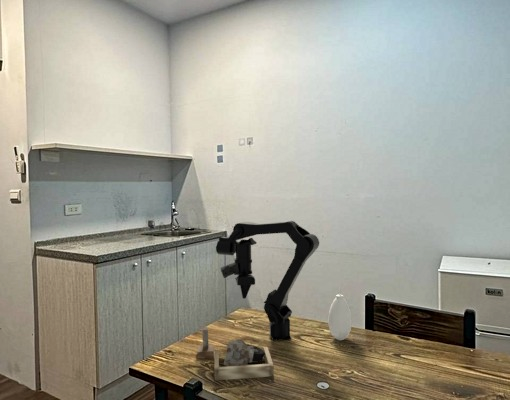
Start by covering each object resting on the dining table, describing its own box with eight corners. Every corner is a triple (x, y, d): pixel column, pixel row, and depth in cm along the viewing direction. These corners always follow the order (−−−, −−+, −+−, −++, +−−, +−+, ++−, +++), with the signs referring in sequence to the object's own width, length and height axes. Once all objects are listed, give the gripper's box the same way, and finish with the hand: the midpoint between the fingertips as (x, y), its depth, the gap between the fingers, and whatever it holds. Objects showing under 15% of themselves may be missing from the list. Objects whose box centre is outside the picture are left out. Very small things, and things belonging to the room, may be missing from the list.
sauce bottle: (354, 337, 126) (354, 286, 126) (347, 345, 119) (347, 292, 119) (333, 333, 130) (332, 283, 130) (325, 340, 124) (324, 288, 123)
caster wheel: (261, 362, 114) (261, 373, 104) (226, 355, 115) (223, 365, 105) (265, 341, 115) (266, 350, 105) (230, 333, 115) (228, 342, 105)
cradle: (267, 356, 113) (267, 346, 113) (273, 376, 101) (273, 365, 101) (214, 359, 111) (214, 350, 111) (214, 380, 99) (214, 369, 99)
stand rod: (213, 350, 117) (213, 326, 117) (213, 357, 112) (213, 332, 112) (198, 351, 117) (197, 326, 117) (197, 358, 112) (196, 333, 112)
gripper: (220, 252, 141) (221, 292, 142) (222, 262, 123) (223, 307, 123) (249, 251, 143) (249, 290, 143) (255, 260, 124) (255, 305, 125)
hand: (244, 298), depth 134 cm, fingers closed
